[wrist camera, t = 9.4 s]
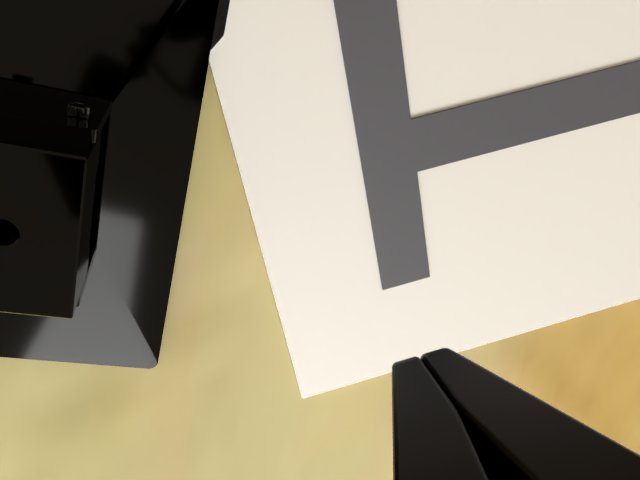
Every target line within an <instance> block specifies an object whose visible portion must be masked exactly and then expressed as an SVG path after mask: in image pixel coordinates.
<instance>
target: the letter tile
mask: <svg viewBox="0 0 640 480" xmlns="http://www.w3.org/2000/svg"><path fill="white" fill-rule="evenodd" d="M209 62H210V66H211V69H212V73H213V77H214V80H215V84H216V87H217V91H218V95H219V98H220V102H221V106H222V109H223V113H224V117H225V120H226V124H227V127H228V131H229V135H230V138H231V142H232V146H233V149H234V153H235V156H236V160H237V164H238V167H239V171H240V175H241V178H242V182H243V186H244V189H245V193H246V196H247V200H248V204H249V207H250V211H251V215H252V218H253V222H254V225H255V229H256V233H257V236H258V240H259V244H260V247H261V251H262V254H263V258H264V262H265V265H266V269H267V273H268V276H269V280H270V284H271V287H272V291H273V294H274V298H275V302H276V305H277V309H278V313H279V316H280V320H281V323H282V327H283V331H284V334H285V338H286V342H287V345H288V349H289V353H290V356H291V360H292V363H293V367H294V371H295V374H296V378H297V382H298V385H299V389H300V392H301V396H302V399H304V398H307V397H310V396H314V395H317V394H320V393H324V392H327V391H331V390H334V389H337V388H341V387H344V386H347V385H351V384H354V383H357V382H361V381H364V380H368V379H371V378H374V377H378V376H381V375H384V374H388V373H391V372H392V365H393V363H395V362H397V361H401V360H404V359H407V358H411V357H415V356H416V357H419V358H420V357H421V356H422V355H423V354H424V353H428V352H431V351H434V350H438V349H441V348H449V349H451V350H453V351H455V352H457V353H458V352H462V351H465V350H468V349H472V348H475V347H478V346H482V345H485V344H489V343H492V342H495V341H499V340H502V339H505V338H509V337H512V336H515V335H519V334H522V333H526V332H529V331H532V330H536V329H539V328H542V327H546V326H549V325H552V324H556V323H559V322H562V321H566V320H569V319H573V318H576V317H579V316H583V315H586V314H589V313H593V312H596V311H599V310H603V309H606V308H610V307H613V306H616V305H620V304H623V303H626V302H630V301H633V300H636V299H640V0H230V3H229V9H228V15H227V20H226V26H225V32H224V36H223V37H222V38H221V39H220V40H219V42H218V43H217V44H216V45H215V46H214V47H213V48H212V50H211V51H210V57H209Z"/></svg>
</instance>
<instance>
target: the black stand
mask: <svg viewBox="0 0 640 480" xmlns="http://www.w3.org/2000/svg"><path fill="white" fill-rule="evenodd" d="M229 3H230V0H0V357H10V358H22V359H35V360H48V361H60V362H73V363H85V364H98V365H110V366H123V367H135V368H153V367H155V366H156V365H157V363H158V358H159V352H160V346H161V340H162V334H163V328H164V323H165V317H166V311H167V305H168V299H169V293H170V287H171V281H172V275H173V269H174V263H175V258H176V252H177V246H178V240H179V234H180V228H181V222H182V216H183V210H184V204H185V198H186V193H187V187H188V181H189V175H190V169H191V163H192V157H193V151H194V145H195V139H196V133H197V127H198V122H199V116H200V110H201V104H202V98H203V92H204V86H205V80H206V74H207V68H208V62H209V57H210V51H211V50H212V48H213V47H214V46H215V45H216V44H217V43H218V42H219V40H220V39H221V38H222V37H223V36H224V32H225V26H226V20H227V15H228V9H229Z"/></svg>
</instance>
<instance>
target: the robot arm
mask: <svg viewBox="0 0 640 480" xmlns="http://www.w3.org/2000/svg"><path fill="white" fill-rule="evenodd" d="M392 417H393V480H640V455H639V454H637V453H635V452H633V451H631V450H630V449H628V448H626V447H624V446H622V445H621V444H619V443H617V442H615V441H614V440H612V439H610V438H608V437H606V436H605V435H603V434H601V433H599V432H597V431H596V430H594V429H592V428H590V427H589V426H587V425H585V424H583V423H581V422H580V421H578V420H576V419H574V418H573V417H571V416H569V415H567V414H565V413H564V412H562V411H560V410H558V409H556V408H555V407H553V406H551V405H549V404H548V403H546V402H544V401H542V400H540V399H539V398H537V397H535V396H533V395H531V394H530V393H528V392H526V391H524V390H523V389H521V388H519V387H517V386H515V385H514V384H512V383H510V382H508V381H506V380H505V379H503V378H501V377H499V376H498V375H496V374H494V373H492V372H490V371H489V370H487V369H485V368H483V367H481V366H480V365H478V364H476V363H474V362H473V361H471V360H469V359H467V358H465V357H464V356H462V355H460V354H458V353H457V352H455V351H453V350H451V349H449V348H441V349H438V350H434V351H431V352H428V353H424V354H423V355H422V356H421V357H420V358H419V357H416V356H415V357H411V358H407V359H404V360H401V361H397V362H395V363H393V365H392Z"/></svg>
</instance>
